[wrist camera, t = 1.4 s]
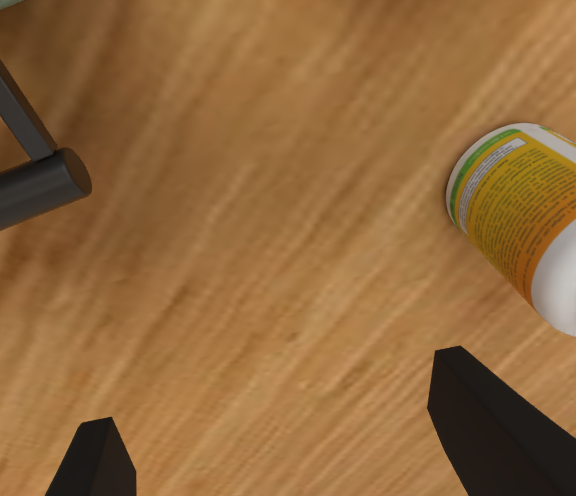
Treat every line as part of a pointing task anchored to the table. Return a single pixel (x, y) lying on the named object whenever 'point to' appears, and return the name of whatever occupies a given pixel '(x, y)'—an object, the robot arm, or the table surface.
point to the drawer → (35, 160)
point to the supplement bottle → (523, 213)
